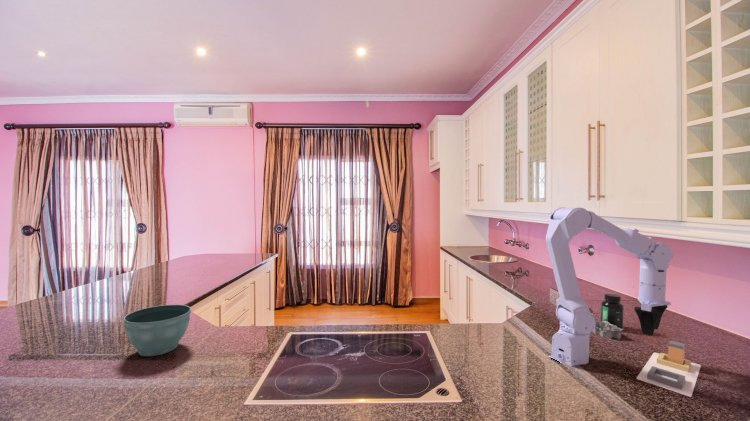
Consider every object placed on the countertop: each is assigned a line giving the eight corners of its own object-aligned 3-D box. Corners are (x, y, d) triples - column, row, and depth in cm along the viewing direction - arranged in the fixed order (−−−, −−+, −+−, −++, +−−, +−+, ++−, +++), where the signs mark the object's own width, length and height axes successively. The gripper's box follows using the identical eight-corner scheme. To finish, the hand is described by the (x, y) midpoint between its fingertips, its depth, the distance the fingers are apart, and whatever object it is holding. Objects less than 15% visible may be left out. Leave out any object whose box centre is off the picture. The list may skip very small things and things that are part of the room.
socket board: (691, 400, 73) (691, 391, 73) (636, 381, 81) (636, 373, 81) (700, 367, 89) (701, 360, 89) (653, 354, 97) (654, 348, 97)
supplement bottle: (604, 329, 117) (605, 296, 117) (597, 322, 123) (598, 291, 123) (626, 331, 115) (627, 298, 115) (618, 325, 121) (619, 293, 121)
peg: (682, 368, 87) (683, 346, 87) (667, 364, 89) (668, 342, 89) (684, 365, 89) (684, 343, 89) (669, 361, 91) (670, 340, 91)
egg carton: (583, 327, 119) (583, 316, 119) (603, 328, 119) (603, 317, 119) (603, 339, 108) (603, 327, 108) (625, 340, 108) (625, 327, 108)
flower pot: (111, 354, 89) (111, 315, 89) (170, 334, 104) (171, 301, 104) (142, 368, 82) (143, 327, 82) (202, 345, 96) (202, 309, 96)
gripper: (666, 290, 83) (664, 342, 83) (675, 283, 92) (673, 330, 92) (632, 285, 88) (630, 333, 88) (643, 278, 98) (642, 322, 98)
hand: (650, 331), depth 91 cm, fingers open, 7 cm apart
